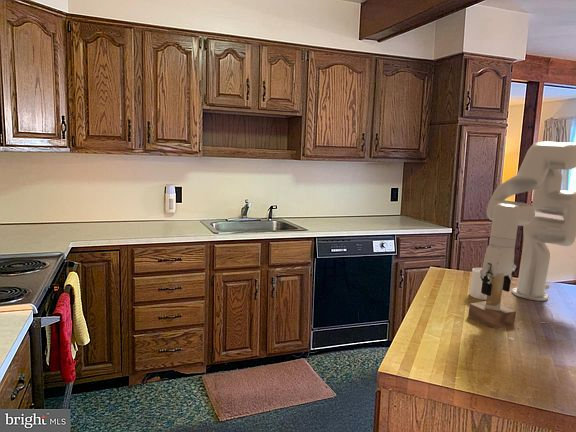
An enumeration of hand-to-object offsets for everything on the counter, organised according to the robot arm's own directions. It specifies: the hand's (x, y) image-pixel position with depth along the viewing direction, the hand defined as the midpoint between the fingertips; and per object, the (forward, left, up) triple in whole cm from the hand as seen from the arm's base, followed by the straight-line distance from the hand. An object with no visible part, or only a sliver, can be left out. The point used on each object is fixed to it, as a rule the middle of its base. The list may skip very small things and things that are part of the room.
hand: (495, 292), depth 145 cm
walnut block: (0, 0, -10) cm, 10 cm away
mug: (-16, -16, -10) cm, 25 cm away
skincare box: (0, 0, -5) cm, 5 cm away
